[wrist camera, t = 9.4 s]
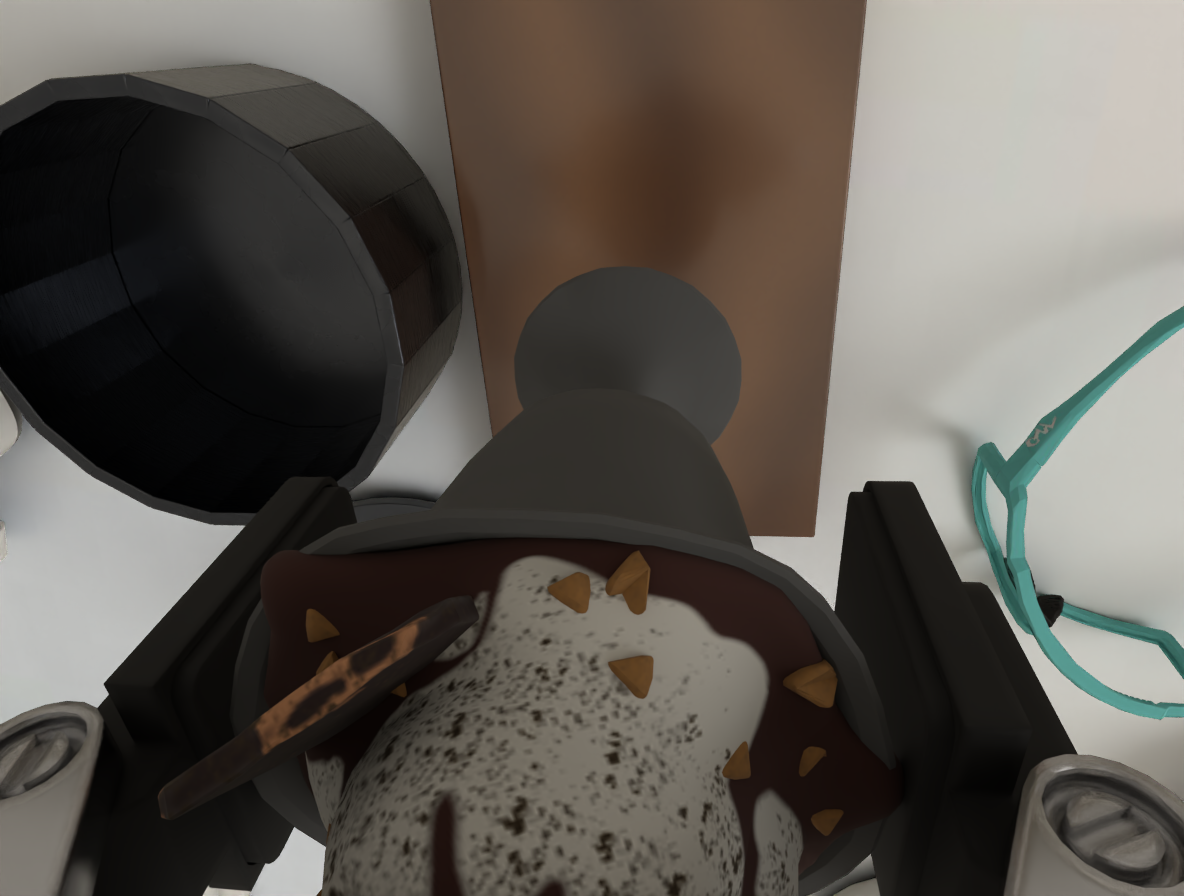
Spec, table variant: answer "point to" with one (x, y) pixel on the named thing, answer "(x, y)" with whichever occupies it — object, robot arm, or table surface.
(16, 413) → the spread jar
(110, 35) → the table surface
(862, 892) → the donut
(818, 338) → the board
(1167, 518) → the table surface
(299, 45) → the table surface
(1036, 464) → the sunglasses
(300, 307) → the pan
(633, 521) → the sundae
